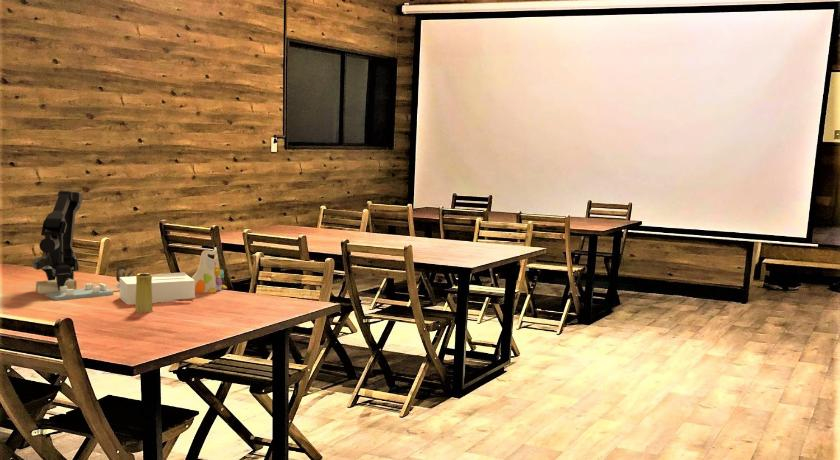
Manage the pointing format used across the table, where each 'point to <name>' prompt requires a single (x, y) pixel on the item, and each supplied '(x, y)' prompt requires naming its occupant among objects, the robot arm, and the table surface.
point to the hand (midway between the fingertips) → (55, 288)
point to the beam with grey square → (53, 286)
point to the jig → (80, 292)
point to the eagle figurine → (121, 274)
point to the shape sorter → (208, 273)
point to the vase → (143, 293)
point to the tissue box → (160, 288)
